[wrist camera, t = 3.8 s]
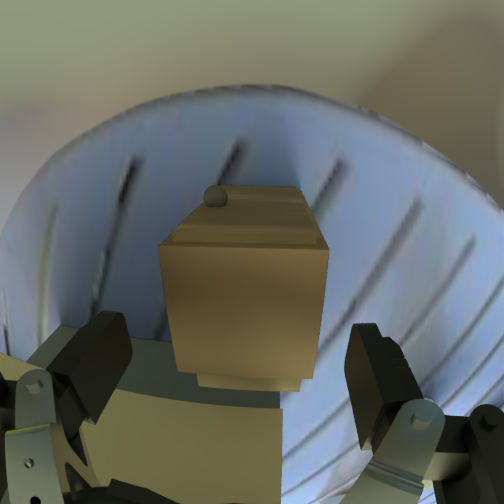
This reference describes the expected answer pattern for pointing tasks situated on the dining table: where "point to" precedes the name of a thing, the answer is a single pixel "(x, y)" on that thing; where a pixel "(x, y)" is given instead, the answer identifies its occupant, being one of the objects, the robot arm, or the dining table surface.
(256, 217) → the cabinet
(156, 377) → the wall board
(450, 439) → the robot arm
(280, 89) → the dining table surface
